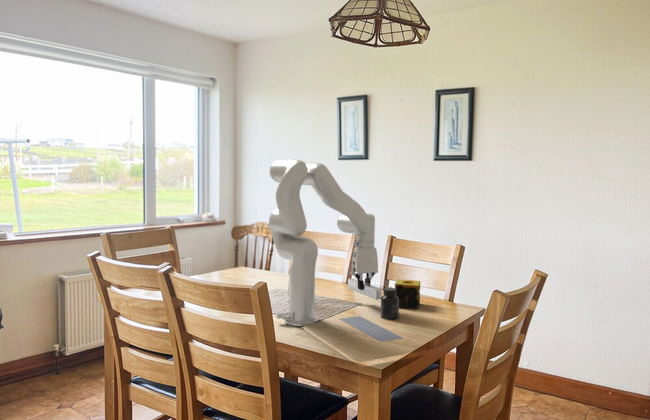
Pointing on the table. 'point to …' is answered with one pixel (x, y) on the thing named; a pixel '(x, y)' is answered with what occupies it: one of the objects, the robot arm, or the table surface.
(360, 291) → the metal bar
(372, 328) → the board
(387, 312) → the supplement bottle
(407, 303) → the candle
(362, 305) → the table surface
